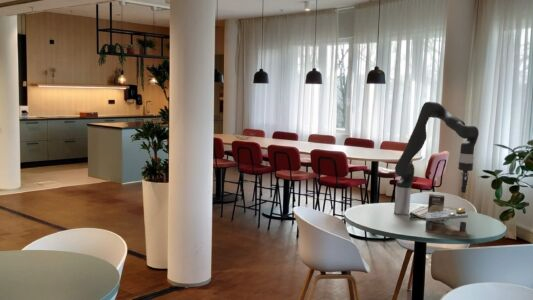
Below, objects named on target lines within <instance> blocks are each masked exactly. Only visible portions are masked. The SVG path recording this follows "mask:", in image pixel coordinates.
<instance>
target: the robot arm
mask: <svg viewBox="0 0 533 300" xmlns="http://www.w3.org/2000/svg"><path fill="white" fill-rule="evenodd" d="M430 118H433V119H434V118H436V119H439V120H441V121H443V122H444V123H445V125H446V126H447V127H448V128H449V129H451V130H452V131H454V132H455V133H456V135H458V136H459V138H461V139H464V140H465V139H466V141H465V142H463V143H461V144H460V150H459V151H460V152H459V157H458V158H459V159H458V167H457V168H458V170H459V171H462V172H460V176H461V178H460V183H461V187H460V190H461V191H460V192H461V193H462V194H463V193H464V194H465V193H466V192H467V190H466V189H467V186H468V182H469V177H470V173H468V172H472V171H473V169H474V159H475V157H474V154H475V153H474V152H475V146H476V144H477V141H478V138H479V128H478V127H476V126H474V125H466V123H465V122H464V121H463V120H462V119H460V118H458V117H457V116H455V115H454V114H452V113H450V112H449V111H448V110H447V109H446V108H445V107H444V106H443V105H442V104H441V103H439V102H435V101H426V102H423V104H422V106H421V108H420V112H419V115H418V118H417V121H416V123H415V125H414V128H413V130H412V132H411V135H410V136H409V138H408V141H407V142H406V143H407V144H406V146H405V147H404V149H403V152H402V154H401V156H400V157H399V158H398V161H397V162H396V165H395V167H394V172H395V174H396V176H398V177H400V178H399V179H398V180H397V181H396V186H395V199H394V208H393V214H398V215H403V216H405V215H409V214H410V206H411V193H412V185H413V183H414V182H413V181H414V176H415V175H414V174H415V166H414V163H412V160H413V158H414V157H415V156H416V155H417V154H418V153H419V152H420V151H421V150H422V149H423V146H424V145H425V143H426V140H427V123H428V121H429V119H430Z"/></svg>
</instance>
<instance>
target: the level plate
mask: <svg viewBox="0 0 533 300" xmlns="http://www.w3.org/2000/svg"><path fill="white" fill-rule="evenodd" d="M425 214H426V215H425V222H426V221H434V220H442V221H443V220H445V221H446V220H454V219H455V220H457V219H468V217H469V216H468V215H469V214H468V212H467V209H466V208H465V207H458V208H455V209H451V210H450V209H448V210H443V211H436V212H428V211H426V212H425Z"/></svg>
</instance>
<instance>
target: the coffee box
mask: <svg viewBox="0 0 533 300" xmlns="http://www.w3.org/2000/svg"><path fill="white" fill-rule="evenodd" d="M428 195H429V196H428V202H427V212H436V211H444V205H445V195H440V194H433V193H430V194H428ZM432 223H433V224H440V225H443V224H442V223H443V220H434V221H432Z"/></svg>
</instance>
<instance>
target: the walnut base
mask: <svg viewBox="0 0 533 300" xmlns="http://www.w3.org/2000/svg"><path fill="white" fill-rule="evenodd" d="M425 233H431V234H440V235H441V234H442V235H451V236H458V237H459V236H460V237H468V232H467V222H465V221H460V222H459V226H455V225H447V224H440V223H433V222H432V221H426V220H425Z"/></svg>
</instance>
